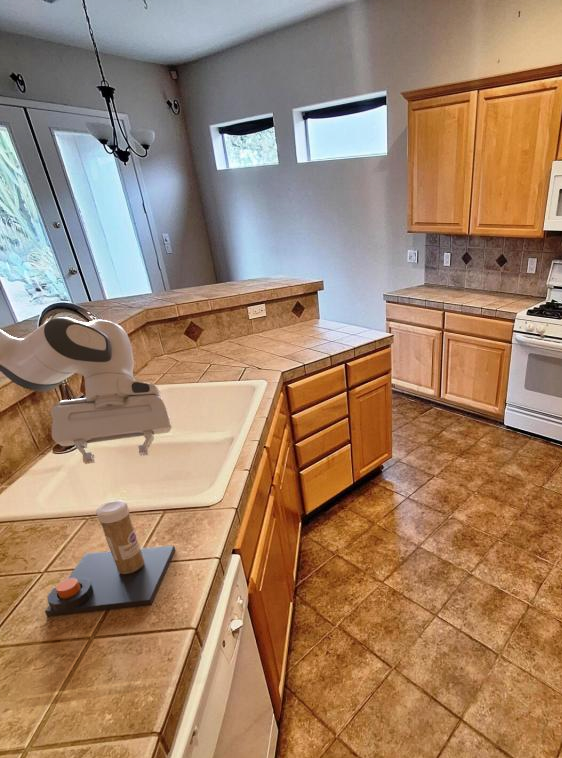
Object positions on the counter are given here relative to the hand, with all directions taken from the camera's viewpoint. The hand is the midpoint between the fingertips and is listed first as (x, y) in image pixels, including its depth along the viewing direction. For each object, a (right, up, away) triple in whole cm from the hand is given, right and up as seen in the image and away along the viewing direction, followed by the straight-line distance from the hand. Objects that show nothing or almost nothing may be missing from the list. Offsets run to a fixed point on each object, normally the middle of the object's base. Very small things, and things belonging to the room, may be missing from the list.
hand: (117, 458), depth 85 cm
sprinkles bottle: (+6, -20, -5) cm, 21 cm away
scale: (+4, -22, -7) cm, 23 cm away
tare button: (0, -22, -12) cm, 25 cm away
